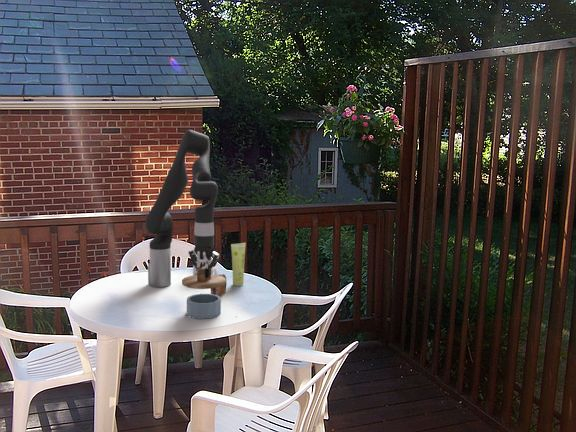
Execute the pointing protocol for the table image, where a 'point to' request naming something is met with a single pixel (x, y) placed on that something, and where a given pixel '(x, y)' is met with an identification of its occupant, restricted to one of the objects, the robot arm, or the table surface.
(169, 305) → the table surface
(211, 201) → the robot arm
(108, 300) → the table surface
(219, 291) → the brown thin box
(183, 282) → the lid
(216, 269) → the spread jar
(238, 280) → the tube
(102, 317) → the table surface
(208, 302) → the bowl
